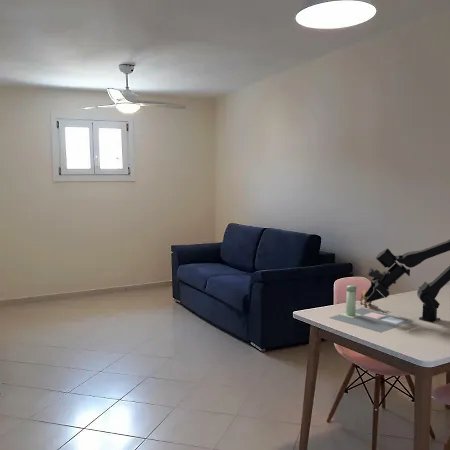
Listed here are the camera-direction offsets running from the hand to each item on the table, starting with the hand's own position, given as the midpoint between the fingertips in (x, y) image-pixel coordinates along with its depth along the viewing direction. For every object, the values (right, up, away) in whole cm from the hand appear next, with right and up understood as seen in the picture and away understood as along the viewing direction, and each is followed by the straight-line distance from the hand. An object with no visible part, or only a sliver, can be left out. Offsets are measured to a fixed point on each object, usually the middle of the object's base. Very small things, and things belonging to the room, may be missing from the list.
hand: (365, 299), depth 209 cm
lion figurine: (+6, -6, +18) cm, 20 cm away
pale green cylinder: (-6, -7, +2) cm, 10 cm away
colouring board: (+1, -8, -5) cm, 10 cm away
